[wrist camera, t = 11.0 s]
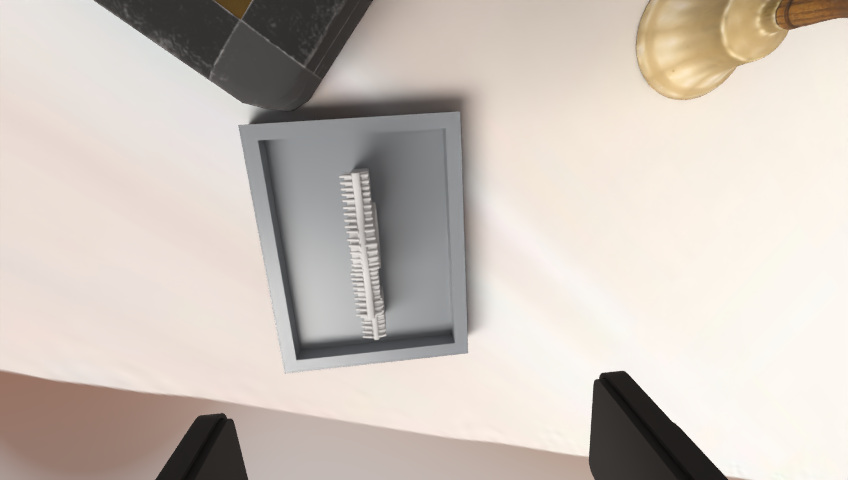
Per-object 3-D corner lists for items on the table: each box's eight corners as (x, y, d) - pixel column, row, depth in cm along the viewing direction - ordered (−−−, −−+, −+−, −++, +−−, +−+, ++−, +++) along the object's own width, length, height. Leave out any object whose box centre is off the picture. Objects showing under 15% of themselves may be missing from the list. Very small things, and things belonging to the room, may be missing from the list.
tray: (454, 111, 28) (460, 111, 26) (463, 339, 33) (468, 353, 31) (248, 124, 27) (238, 125, 25) (290, 358, 32) (284, 373, 30)
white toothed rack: (387, 318, 31) (388, 361, 26) (364, 320, 31) (360, 364, 26) (372, 162, 28) (369, 173, 22) (346, 164, 28) (337, 176, 22)
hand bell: (768, 0, 28) (1222, -141, 13) (708, 116, 30) (1041, 113, 15) (671, -52, 27) (1058, -281, 11) (614, 74, 29) (880, 23, 13)
